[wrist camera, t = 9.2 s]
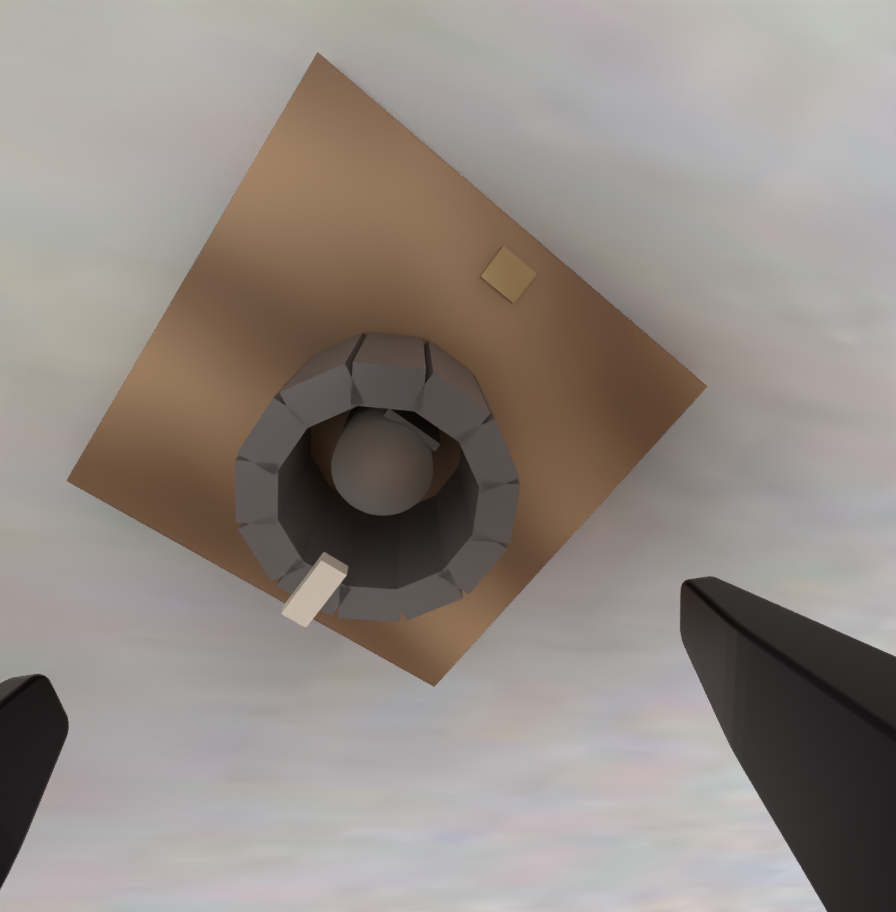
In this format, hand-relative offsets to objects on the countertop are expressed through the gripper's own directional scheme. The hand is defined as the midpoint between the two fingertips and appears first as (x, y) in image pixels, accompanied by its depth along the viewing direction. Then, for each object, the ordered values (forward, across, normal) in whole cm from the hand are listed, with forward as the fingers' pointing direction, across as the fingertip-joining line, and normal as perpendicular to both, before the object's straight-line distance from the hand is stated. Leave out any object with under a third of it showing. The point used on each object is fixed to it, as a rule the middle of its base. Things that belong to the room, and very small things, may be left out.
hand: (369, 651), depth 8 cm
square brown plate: (+11, 0, 0) cm, 11 cm away
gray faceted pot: (+10, 0, 0) cm, 10 cm away
